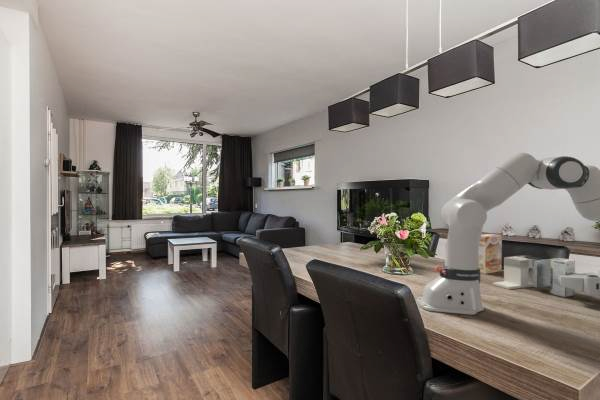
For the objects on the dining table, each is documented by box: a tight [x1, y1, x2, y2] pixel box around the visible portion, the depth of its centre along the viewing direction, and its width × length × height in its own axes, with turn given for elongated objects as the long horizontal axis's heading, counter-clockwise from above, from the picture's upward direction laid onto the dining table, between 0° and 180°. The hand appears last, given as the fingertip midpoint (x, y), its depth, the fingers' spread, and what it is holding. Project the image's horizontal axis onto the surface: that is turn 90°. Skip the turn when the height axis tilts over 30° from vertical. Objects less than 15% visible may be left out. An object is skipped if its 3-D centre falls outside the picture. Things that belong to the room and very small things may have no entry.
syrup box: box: [549, 257, 576, 298], centre depth 133 cm, size 6×6×14 cm
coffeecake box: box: [479, 233, 503, 275], centre depth 176 cm, size 15×7×20 cm, turn 119°
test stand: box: [492, 255, 535, 290], centre depth 149 cm, size 8×26×12 cm, turn 109°
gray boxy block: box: [524, 255, 552, 288], centre depth 144 cm, size 10×12×11 cm
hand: (563, 275), depth 133 cm, fingers open, 8 cm apart
